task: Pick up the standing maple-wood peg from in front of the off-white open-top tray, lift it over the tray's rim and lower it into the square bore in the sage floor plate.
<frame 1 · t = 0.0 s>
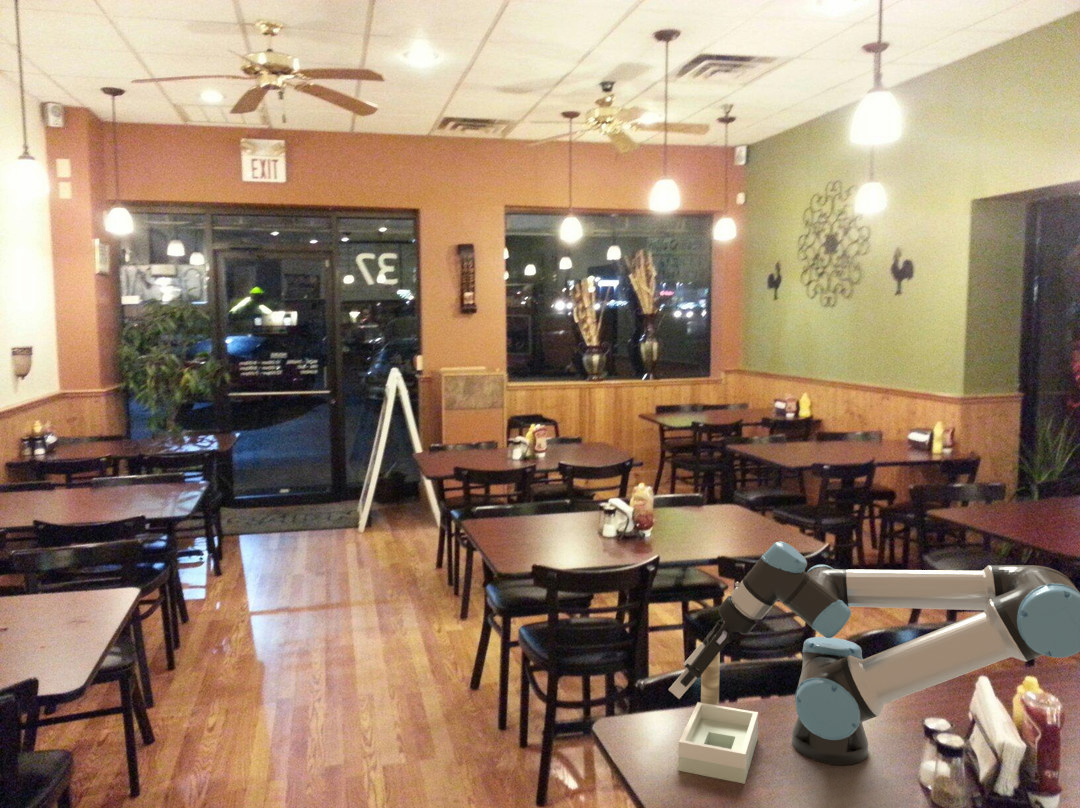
hand: (681, 680, 172), 15 cm above the table, tool tilted 35°, fingers open, 13 cm apart
bore tray: (719, 754, 172), on the table
peg: (709, 716, 188), on the table
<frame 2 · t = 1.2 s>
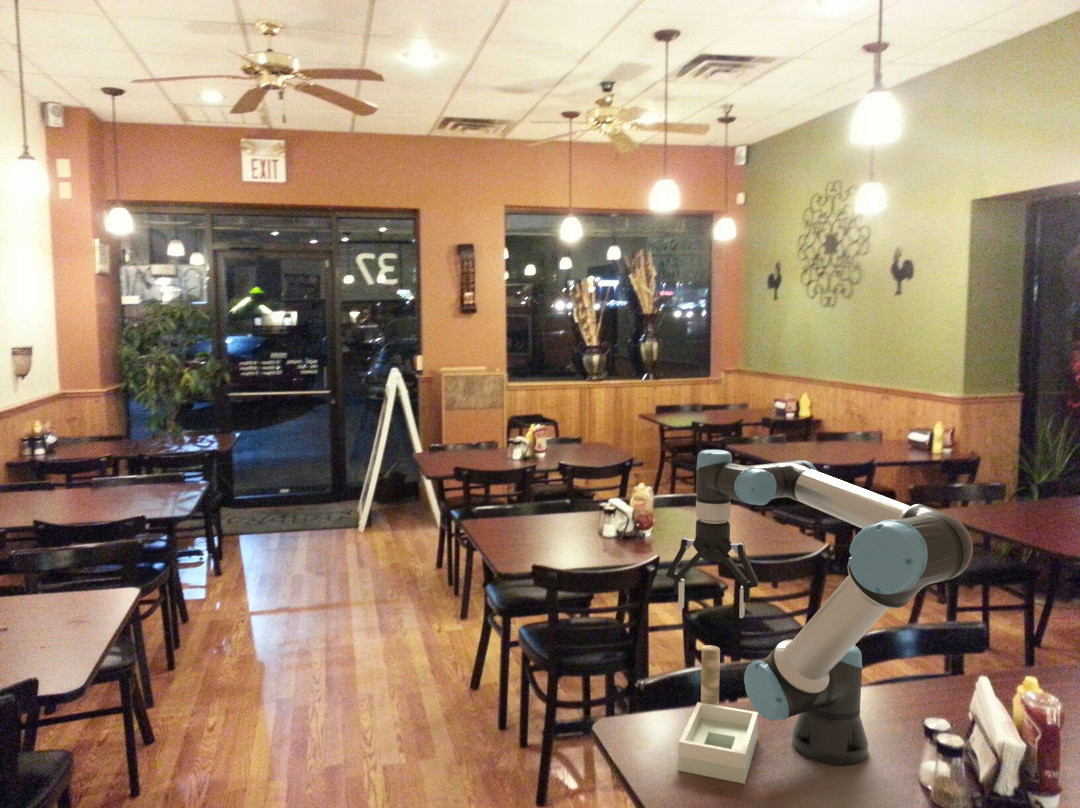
hand: (711, 612, 186), 24 cm above the table, tool pointing down, fingers open, 13 cm apart
nothing on the table moved.
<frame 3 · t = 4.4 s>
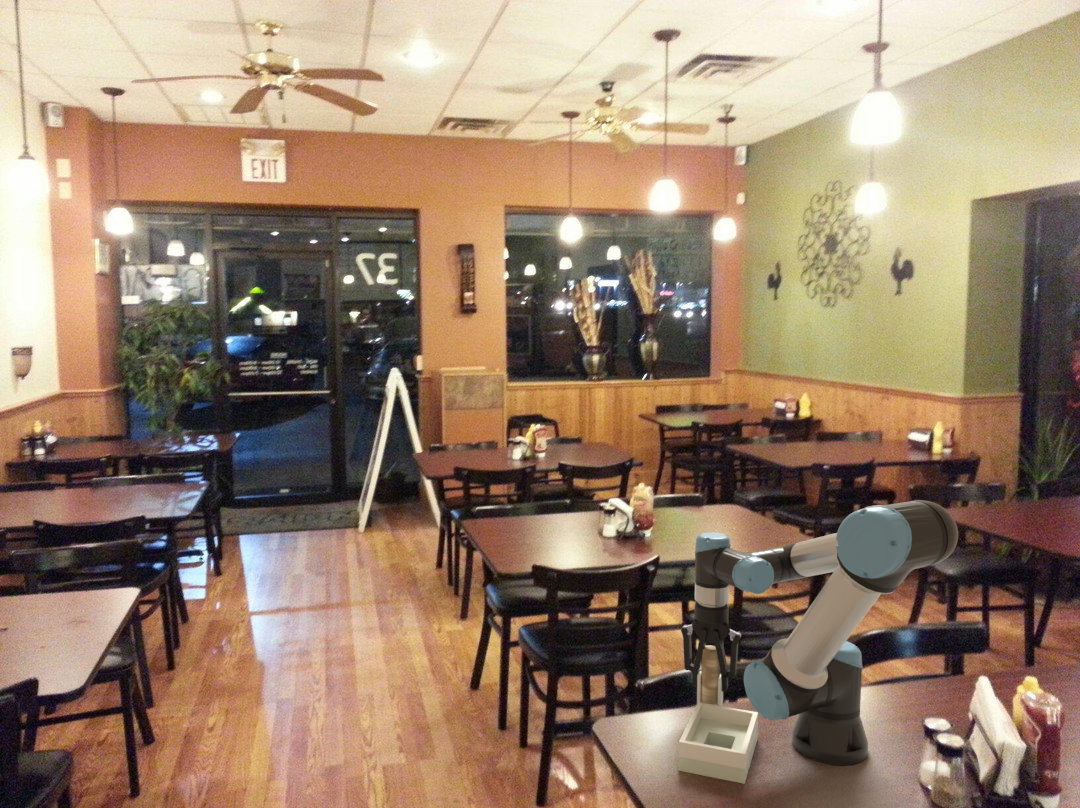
hand: (709, 702, 188), 3 cm above the table, tool pointing down, fingers closed on peg, 4 cm apart
peg: (709, 716, 188), on the table, touching gripper
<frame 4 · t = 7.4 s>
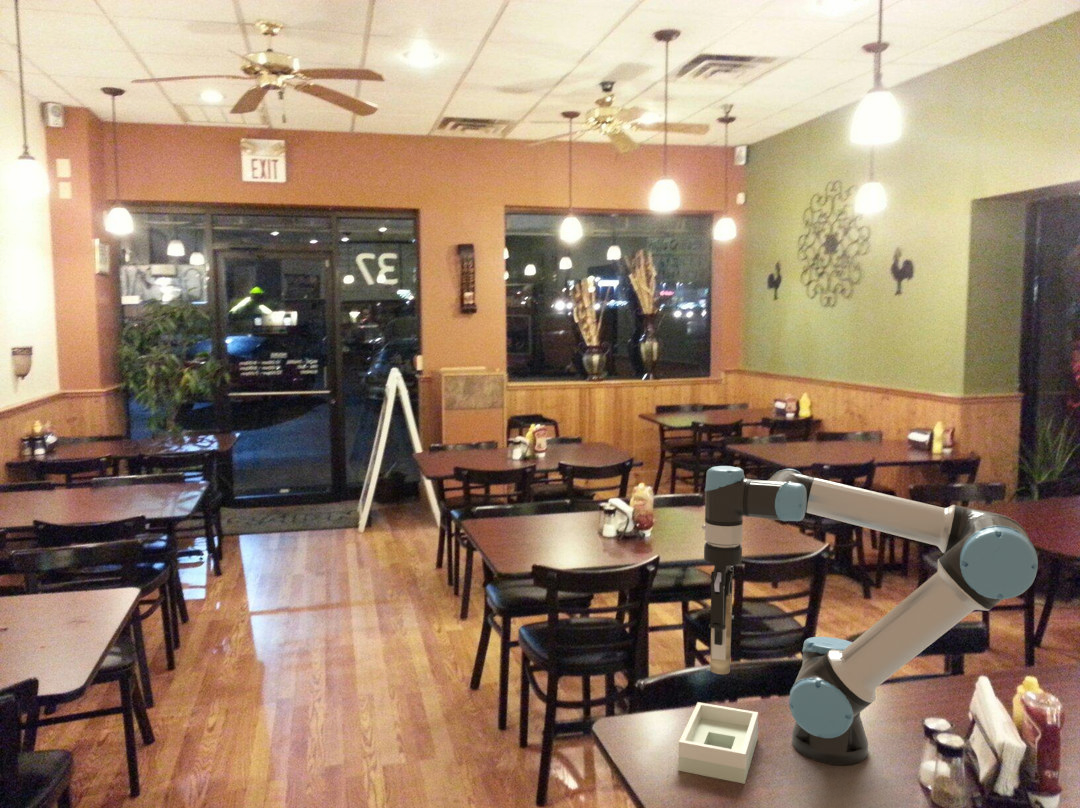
hand: (720, 654, 170), 21 cm above the table, tool pointing down, fingers closed on peg, 4 cm apart
peg: (720, 670, 170), point 18 cm above the table, touching gripper
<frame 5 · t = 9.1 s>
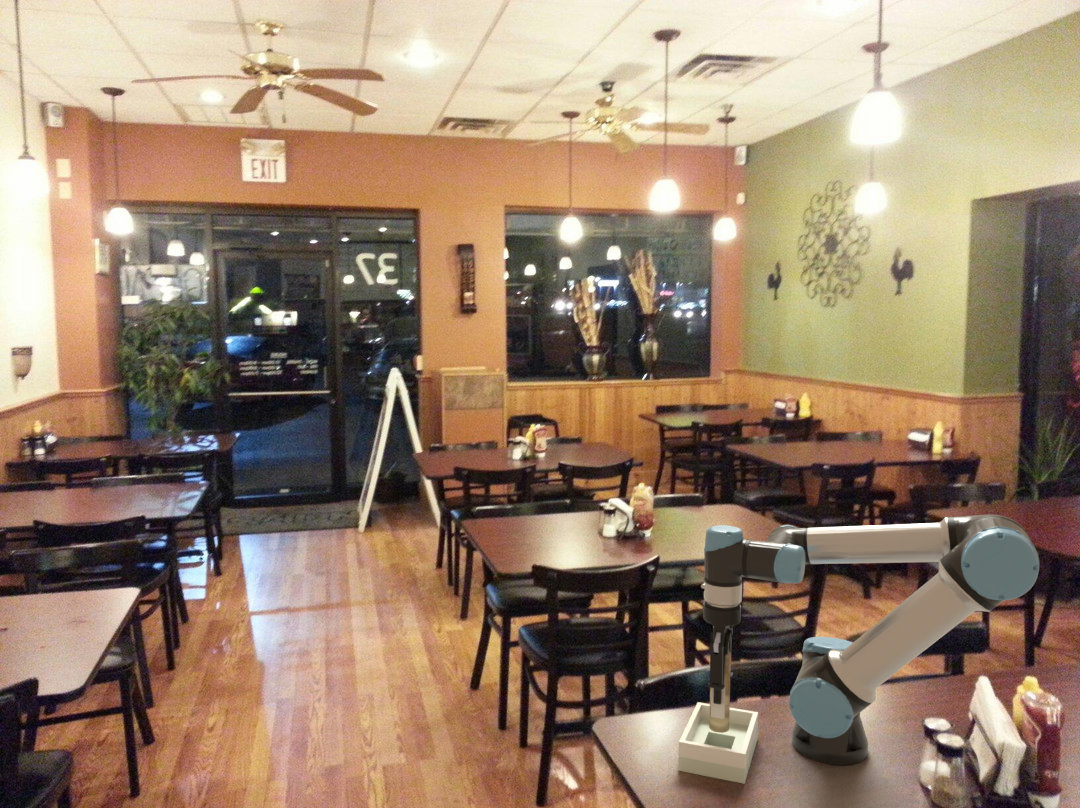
hand: (719, 712, 171), 9 cm above the table, tool pointing down, fingers closed on peg, 4 cm apart
peg: (719, 727, 171), point 6 cm above the table, touching gripper
when the fingers open (5 cm above the table, at t = 10.5 s): peg stays where it is, resting in bore tray.
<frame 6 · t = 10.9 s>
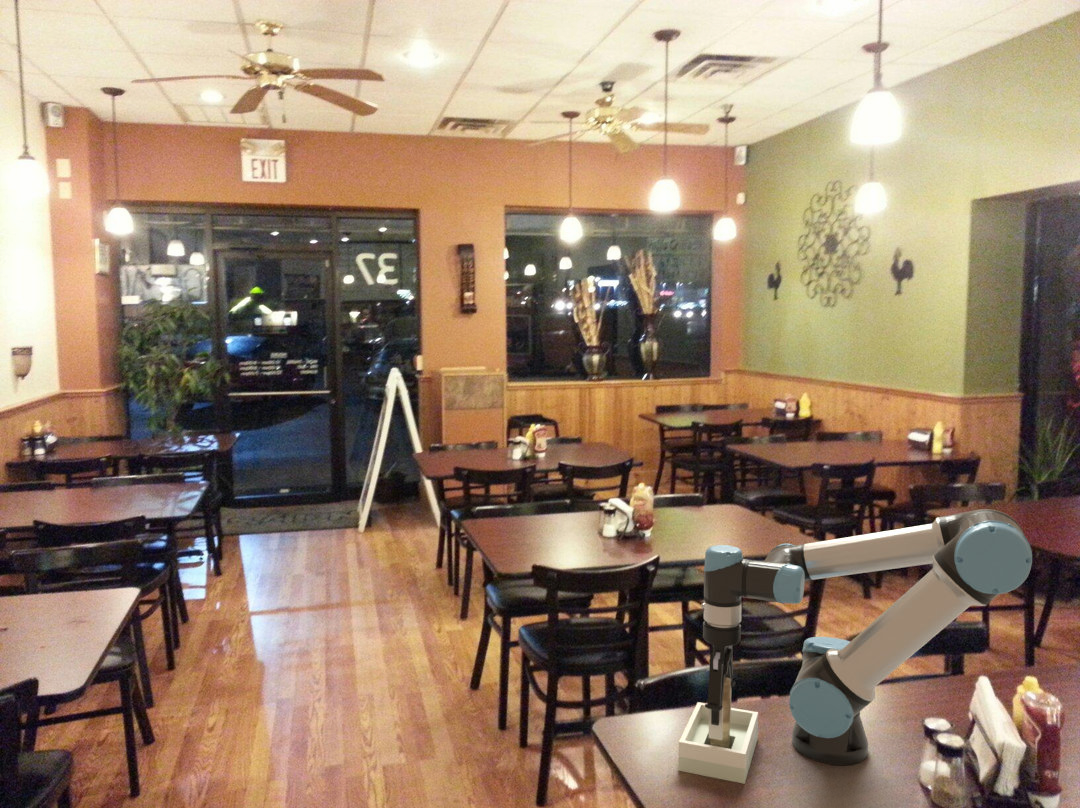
hand: (719, 726, 171), 6 cm above the table, tool pointing down, fingers open, 9 cm apart
peg: (719, 754, 172), resting in bore tray
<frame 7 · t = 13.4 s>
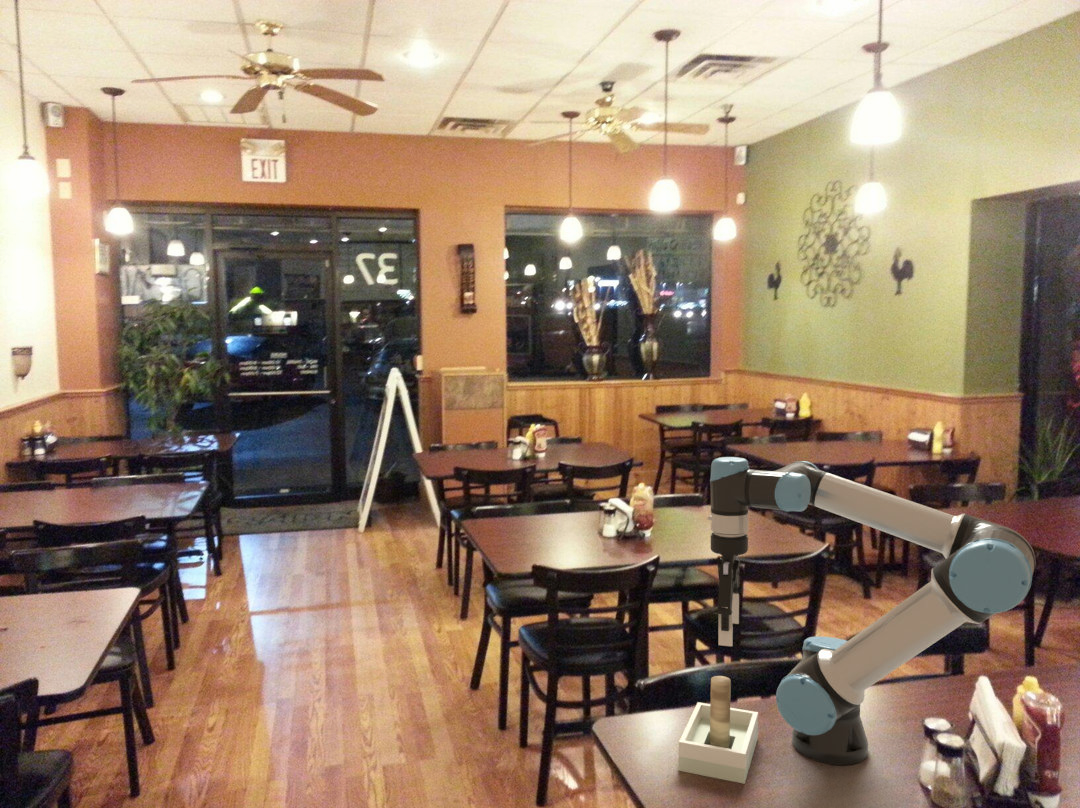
hand: (728, 633, 171), 25 cm above the table, tool pointing down, fingers open, 13 cm apart
nothing on the table moved.
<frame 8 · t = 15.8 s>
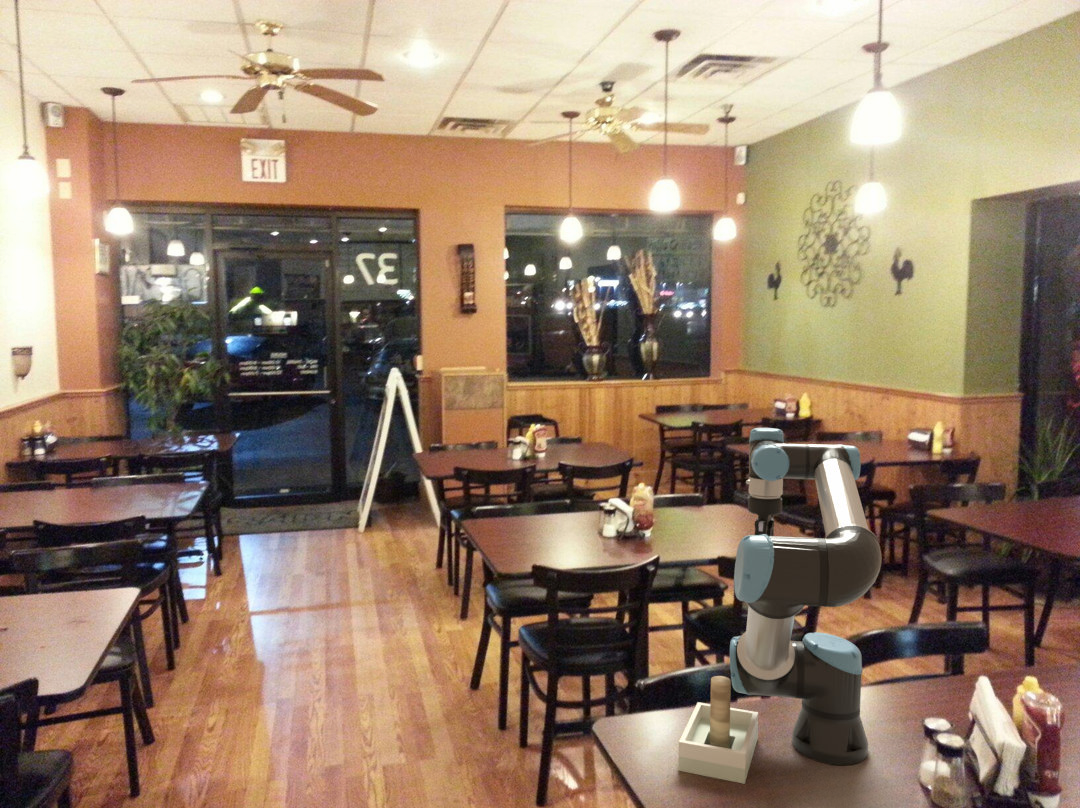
hand: (763, 586, 191), 29 cm above the table, tool pointing down, fingers open, 13 cm apart
nothing on the table moved.
at the end: peg 0.0 cm off-centre on the bore tray, point 0.0 cm above the bore tray's base; peg tilted 0°; the gripper is holding nothing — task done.
